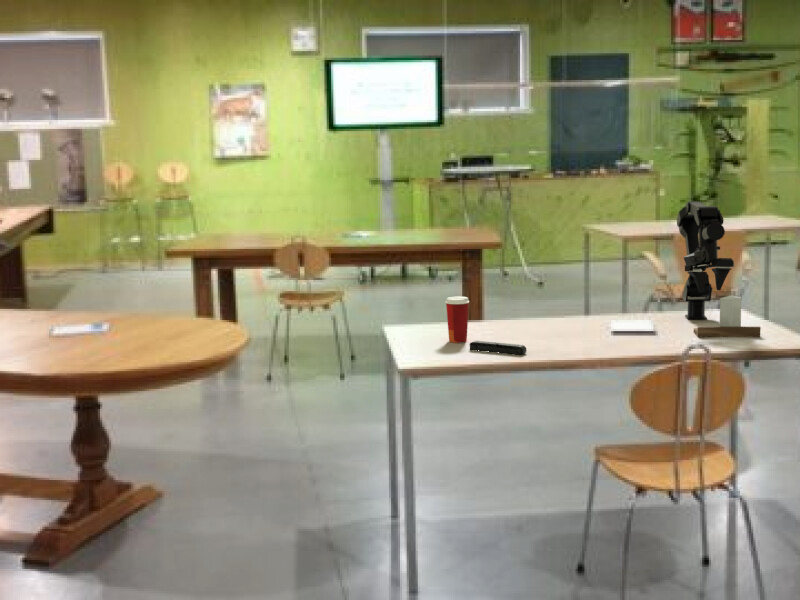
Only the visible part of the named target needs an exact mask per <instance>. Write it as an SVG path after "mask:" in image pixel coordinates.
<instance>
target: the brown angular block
mask: <svg viewBox="0 0 800 600" xmlns="http://www.w3.org/2000/svg"><path fill="white" fill-rule="evenodd" d="M693 334H694V335H695V336H696V337H697V338H761V326H741V327H720V326H697V327H694V328H693Z"/></svg>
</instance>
